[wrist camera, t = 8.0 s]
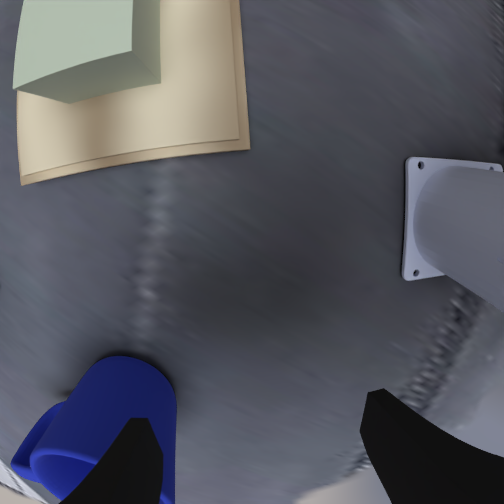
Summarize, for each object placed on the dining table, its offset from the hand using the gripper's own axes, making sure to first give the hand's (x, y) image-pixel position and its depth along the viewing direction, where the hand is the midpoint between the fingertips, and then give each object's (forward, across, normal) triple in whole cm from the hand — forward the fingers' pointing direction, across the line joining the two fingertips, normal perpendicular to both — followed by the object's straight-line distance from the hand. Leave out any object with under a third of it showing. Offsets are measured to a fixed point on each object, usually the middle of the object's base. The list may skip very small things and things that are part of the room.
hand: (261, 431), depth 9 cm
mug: (+11, +10, +7) cm, 17 cm away
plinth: (+10, +6, -15) cm, 19 cm away
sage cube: (+8, +6, -15) cm, 18 cm away
